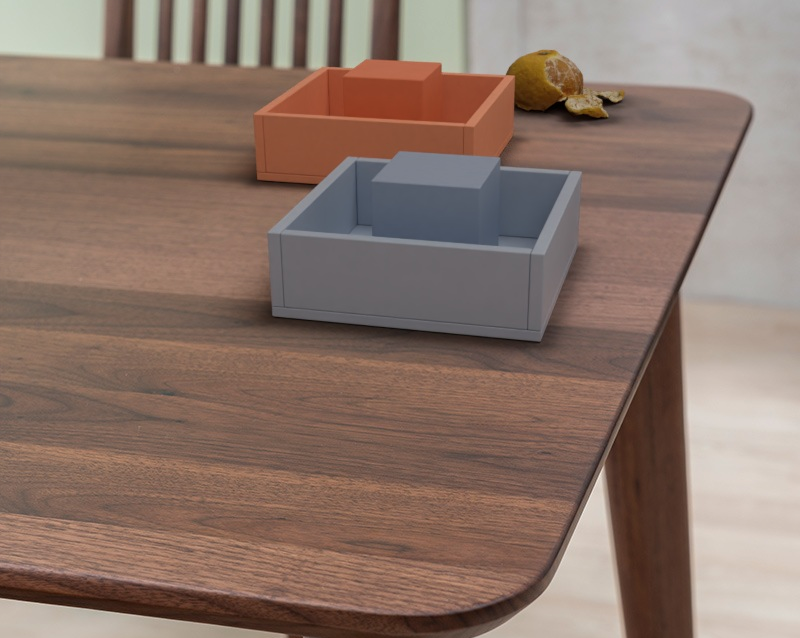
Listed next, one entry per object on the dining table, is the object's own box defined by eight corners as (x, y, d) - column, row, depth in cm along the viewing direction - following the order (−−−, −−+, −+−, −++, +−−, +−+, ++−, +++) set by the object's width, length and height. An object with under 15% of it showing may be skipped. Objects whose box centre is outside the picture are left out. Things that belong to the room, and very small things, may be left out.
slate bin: (272, 316, 57) (266, 232, 55) (349, 229, 67) (347, 156, 65) (540, 342, 54) (544, 254, 52) (578, 247, 64) (582, 170, 63)
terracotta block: (344, 157, 78) (342, 75, 75) (367, 136, 82) (365, 58, 80) (423, 162, 77) (423, 79, 74) (441, 141, 81) (442, 62, 79)
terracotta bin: (257, 180, 75) (252, 113, 73) (324, 125, 87) (321, 66, 85) (473, 195, 72) (474, 126, 70) (513, 136, 84) (515, 75, 82)
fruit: (600, 123, 86) (603, 69, 84) (485, 113, 89) (486, 60, 87) (628, 97, 93) (632, 46, 91) (520, 88, 96) (522, 39, 94)
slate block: (372, 284, 59) (370, 180, 56) (400, 248, 63) (398, 150, 61) (477, 293, 57) (479, 188, 55) (498, 256, 62) (500, 156, 60)
